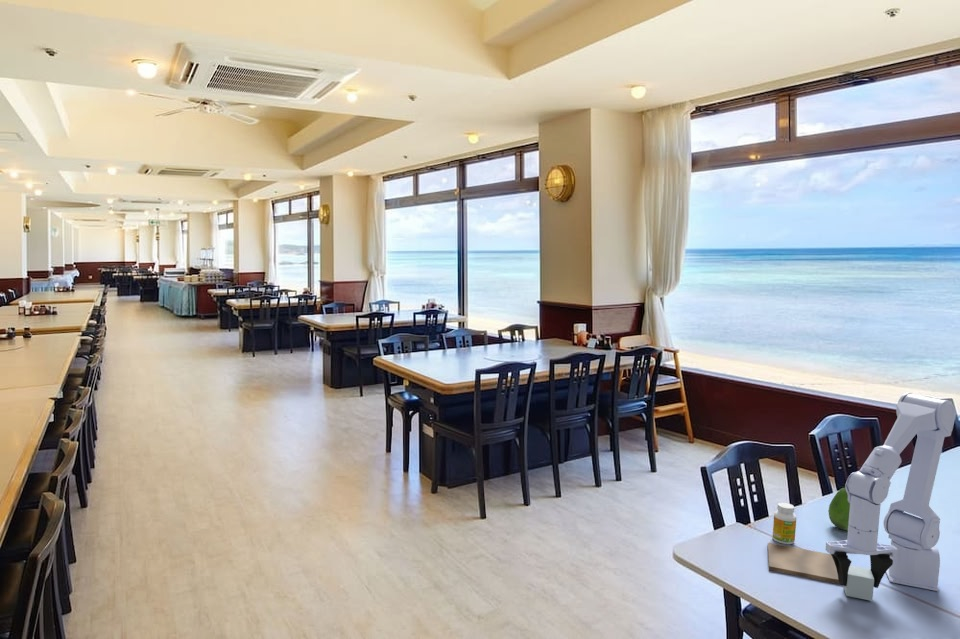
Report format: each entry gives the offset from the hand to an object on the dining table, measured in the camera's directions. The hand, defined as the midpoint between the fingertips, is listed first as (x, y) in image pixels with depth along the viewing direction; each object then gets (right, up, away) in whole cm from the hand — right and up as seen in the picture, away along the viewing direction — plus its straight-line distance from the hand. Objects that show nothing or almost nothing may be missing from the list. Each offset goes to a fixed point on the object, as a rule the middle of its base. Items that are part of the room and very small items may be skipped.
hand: (858, 584), depth 141 cm
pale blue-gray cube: (0, -2, 0) cm, 2 cm away
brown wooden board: (-5, -1, +14) cm, 15 cm away
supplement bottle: (-3, 0, +28) cm, 28 cm away
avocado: (+18, 0, +36) cm, 40 cm away
